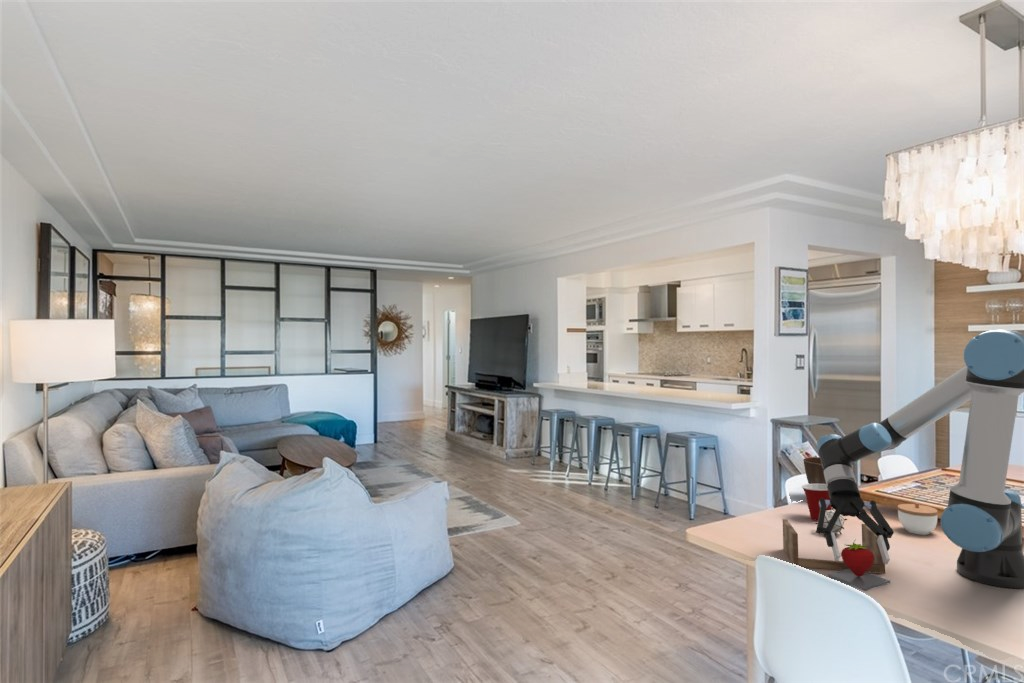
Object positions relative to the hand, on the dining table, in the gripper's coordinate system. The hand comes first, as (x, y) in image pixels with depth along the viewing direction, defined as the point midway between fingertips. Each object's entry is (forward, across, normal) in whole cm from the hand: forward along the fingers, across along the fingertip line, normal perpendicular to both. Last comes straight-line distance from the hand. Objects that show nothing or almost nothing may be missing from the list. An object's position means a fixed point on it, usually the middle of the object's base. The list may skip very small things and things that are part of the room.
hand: (861, 560), depth 143 cm
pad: (+2, 0, -6) cm, 7 cm away
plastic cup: (-37, -4, -45) cm, 58 cm away
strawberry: (+2, 0, -6) cm, 6 cm away
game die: (-25, -4, -34) cm, 42 cm away
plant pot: (-55, -13, -64) cm, 85 cm away
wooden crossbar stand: (-7, +3, -16) cm, 17 cm away
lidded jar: (-31, -31, -40) cm, 59 cm away
